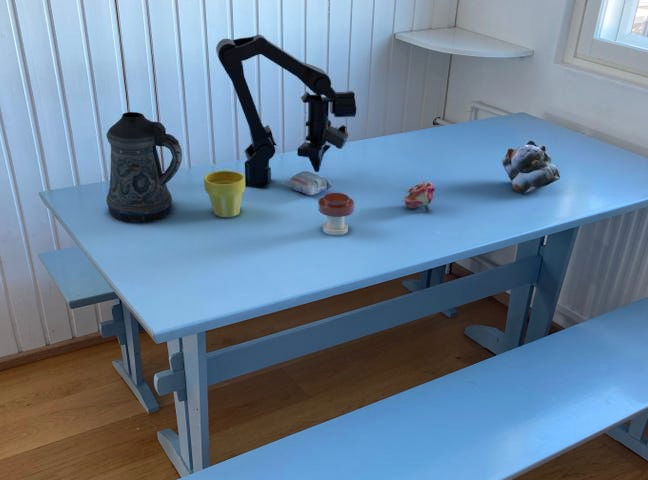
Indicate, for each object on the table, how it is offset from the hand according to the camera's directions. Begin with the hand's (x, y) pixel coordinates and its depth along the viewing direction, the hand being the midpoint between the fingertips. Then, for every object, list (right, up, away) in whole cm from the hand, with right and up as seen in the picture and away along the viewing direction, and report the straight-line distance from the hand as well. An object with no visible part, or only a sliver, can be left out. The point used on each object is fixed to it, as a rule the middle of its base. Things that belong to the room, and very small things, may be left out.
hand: (317, 171), depth 214 cm
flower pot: (-23, -16, -20) cm, 34 cm away
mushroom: (+6, -22, -26) cm, 34 cm away
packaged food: (-3, -8, -6) cm, 10 cm away
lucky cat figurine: (+62, -4, +5) cm, 63 cm away
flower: (+28, -14, -12) cm, 33 cm away
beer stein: (-44, -16, -21) cm, 51 cm away
